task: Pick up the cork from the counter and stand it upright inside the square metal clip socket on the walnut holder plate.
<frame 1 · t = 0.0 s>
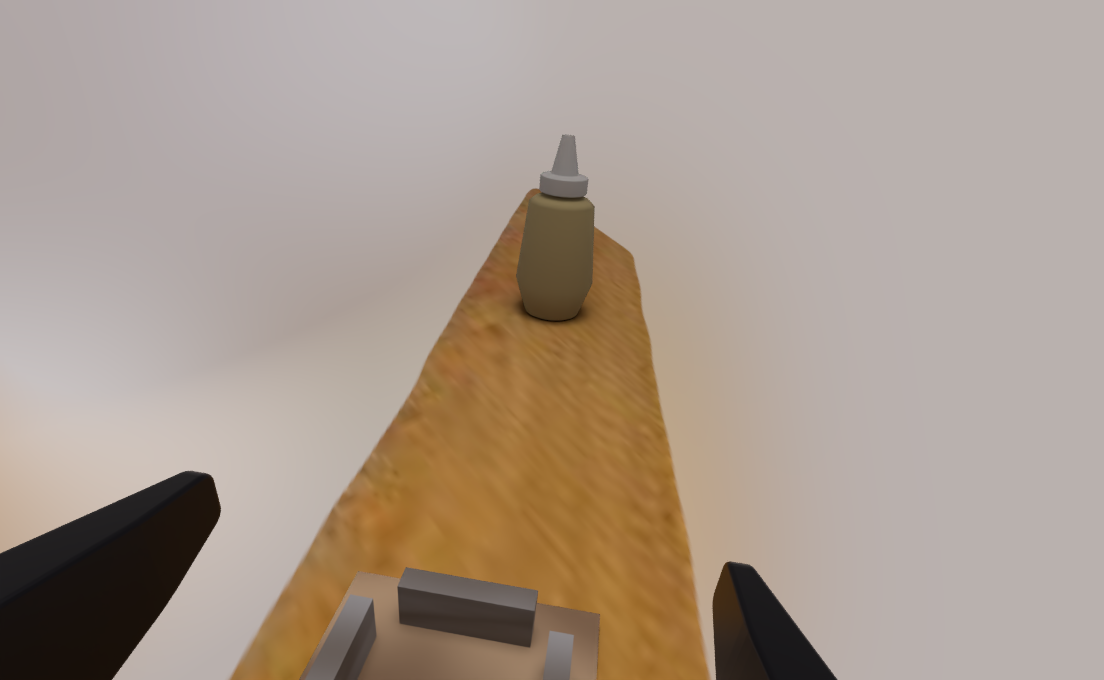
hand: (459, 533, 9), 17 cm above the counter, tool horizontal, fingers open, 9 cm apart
squeeze bottle: (551, 312, 58), on the counter
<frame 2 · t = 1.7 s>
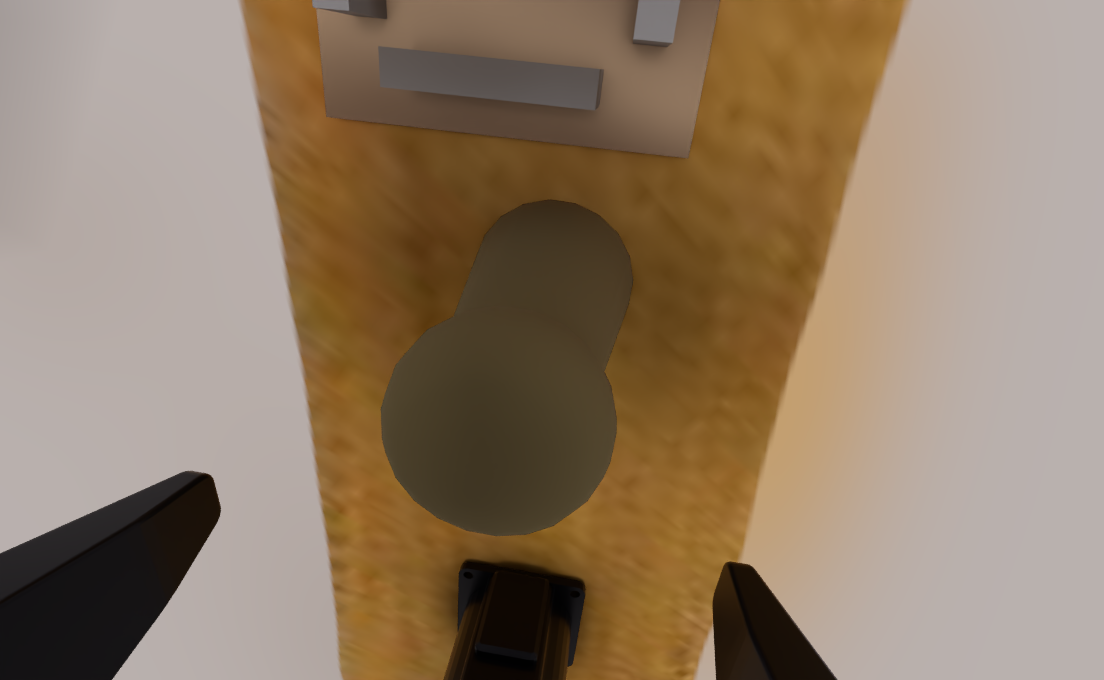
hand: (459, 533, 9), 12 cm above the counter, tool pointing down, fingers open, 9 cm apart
cork: (553, 278, 20), on the counter
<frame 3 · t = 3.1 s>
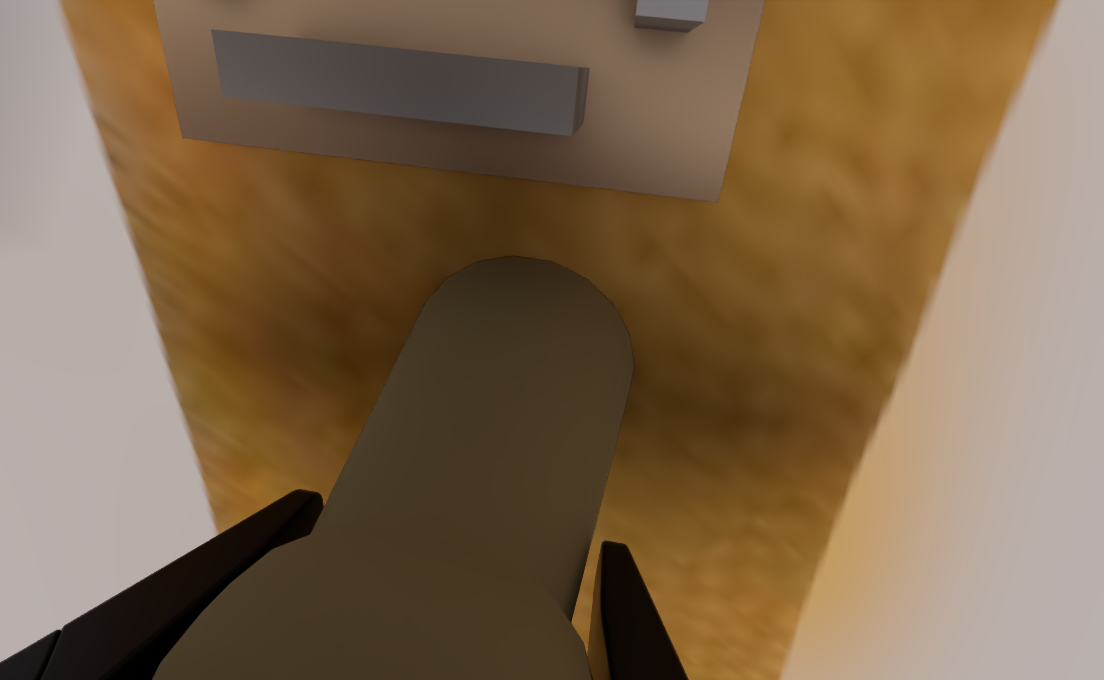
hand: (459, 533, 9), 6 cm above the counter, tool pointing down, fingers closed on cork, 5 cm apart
cork: (523, 359, 15), on the counter, touching gripper
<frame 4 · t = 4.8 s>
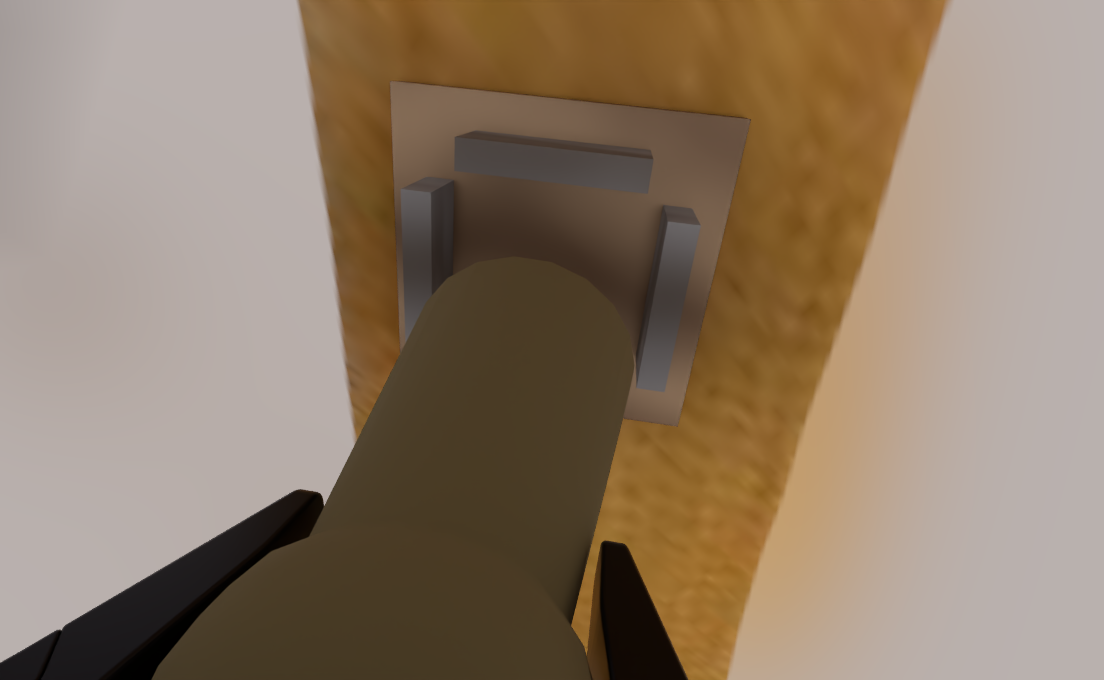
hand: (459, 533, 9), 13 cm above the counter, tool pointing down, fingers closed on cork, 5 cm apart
clip holder: (552, 266, 21), on the counter
cork: (523, 360, 15), point 7 cm above the counter, touching gripper
when the fingers open (8 cm above the counter, at t = 6.5 s): cork drops 1 cm, resting on clip holder.
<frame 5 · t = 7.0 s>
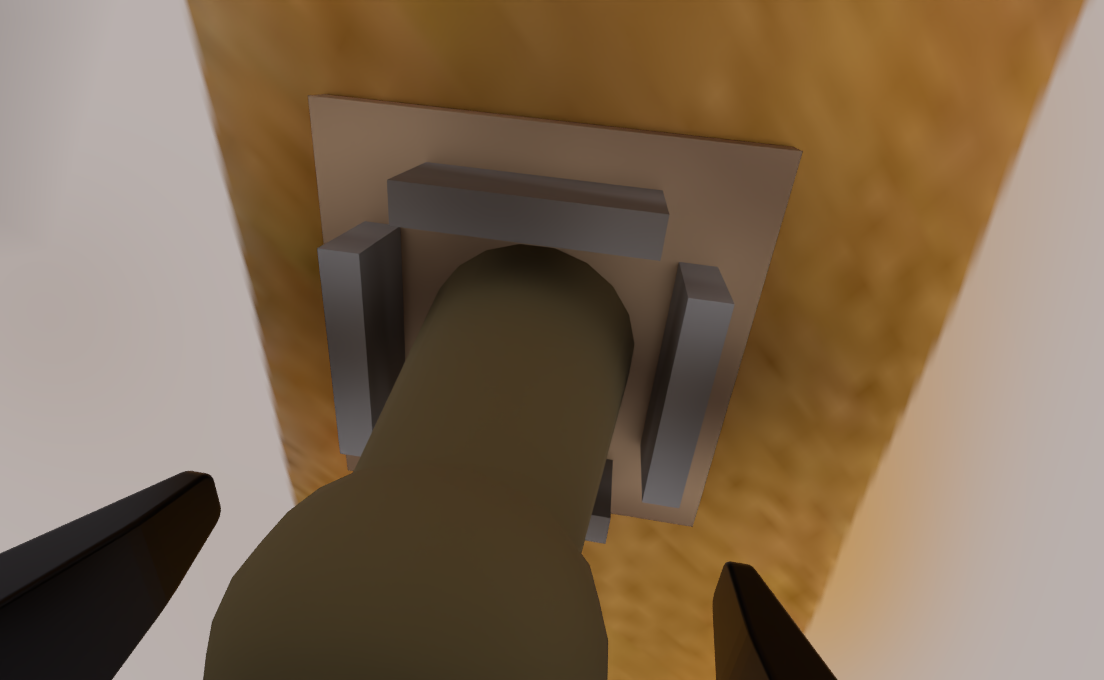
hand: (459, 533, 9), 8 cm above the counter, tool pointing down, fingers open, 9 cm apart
clip holder: (533, 331, 16), on the counter
cork: (530, 341, 16), point 1 cm above the counter, touching clip holder
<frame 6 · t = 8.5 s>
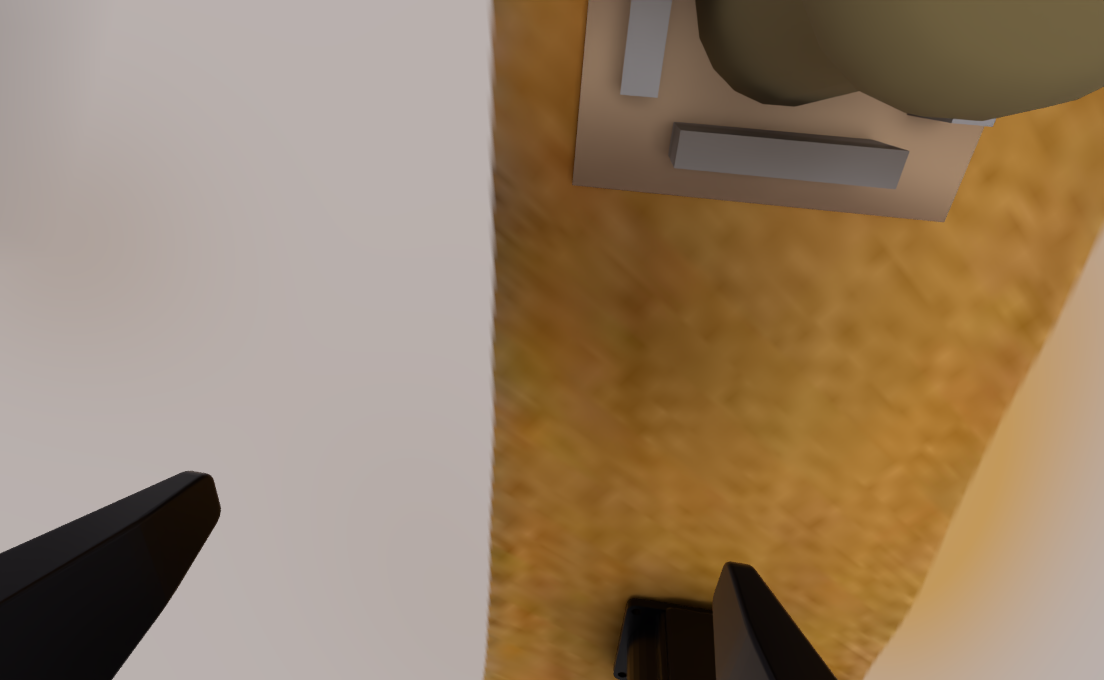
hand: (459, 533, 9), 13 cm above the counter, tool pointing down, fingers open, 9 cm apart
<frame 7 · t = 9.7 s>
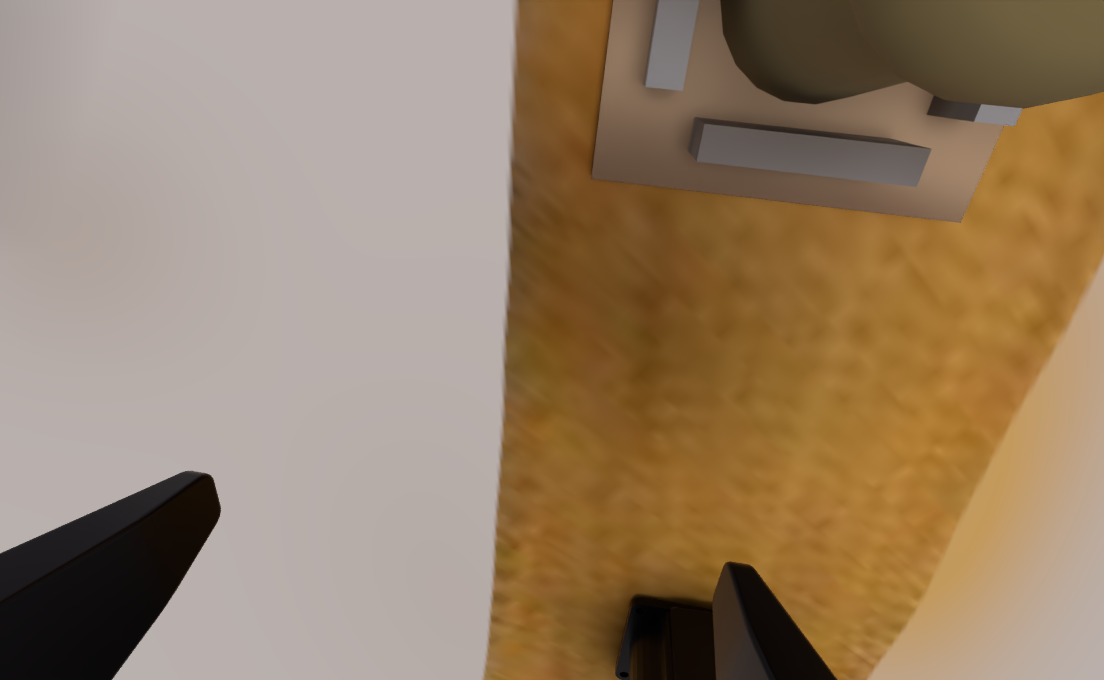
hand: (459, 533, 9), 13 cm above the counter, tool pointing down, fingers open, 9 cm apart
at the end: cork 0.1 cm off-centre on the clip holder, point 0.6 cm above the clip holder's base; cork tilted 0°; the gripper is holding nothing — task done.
